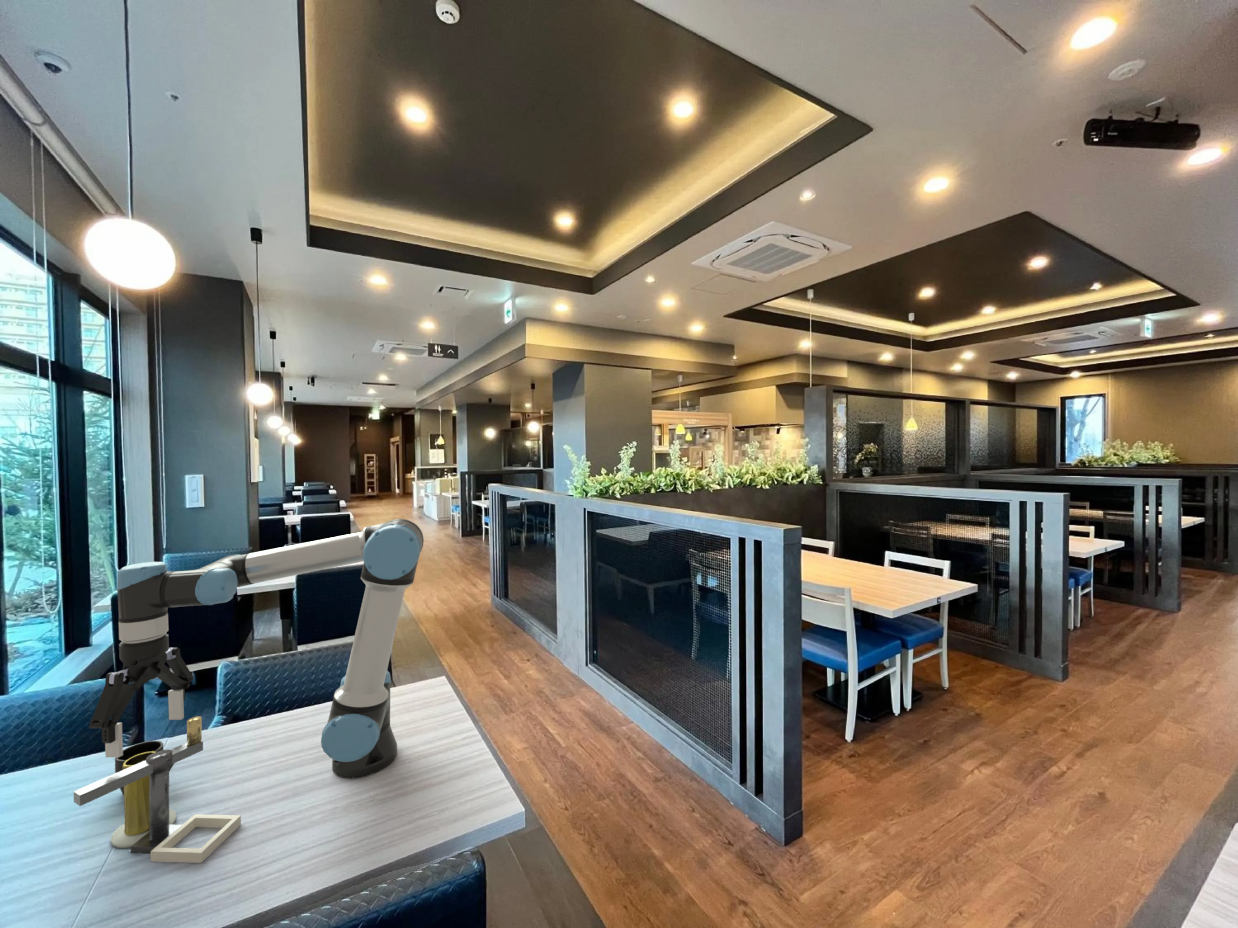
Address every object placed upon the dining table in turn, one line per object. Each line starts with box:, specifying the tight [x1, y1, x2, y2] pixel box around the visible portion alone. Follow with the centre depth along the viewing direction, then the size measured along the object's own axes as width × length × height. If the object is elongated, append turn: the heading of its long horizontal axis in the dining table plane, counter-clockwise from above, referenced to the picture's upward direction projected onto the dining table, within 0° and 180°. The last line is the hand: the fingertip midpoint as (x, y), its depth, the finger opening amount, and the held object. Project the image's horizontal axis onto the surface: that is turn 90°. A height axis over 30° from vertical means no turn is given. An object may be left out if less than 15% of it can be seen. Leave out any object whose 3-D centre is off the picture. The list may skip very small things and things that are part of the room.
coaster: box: [110, 808, 177, 849], centre depth 105 cm, size 10×10×1 cm
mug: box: [114, 740, 175, 797], centre depth 117 cm, size 8×12×10 cm
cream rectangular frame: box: [150, 813, 242, 864], centre depth 102 cm, size 10×10×2 cm
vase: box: [123, 751, 155, 835], centre depth 105 cm, size 6×6×14 cm
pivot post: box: [129, 768, 183, 854], centre depth 102 cm, size 6×6×15 cm
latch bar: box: [73, 715, 204, 807], centre depth 99 cm, size 19×4×7 cm, turn 156°
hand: (147, 736), depth 104 cm, fingers open, 13 cm apart
